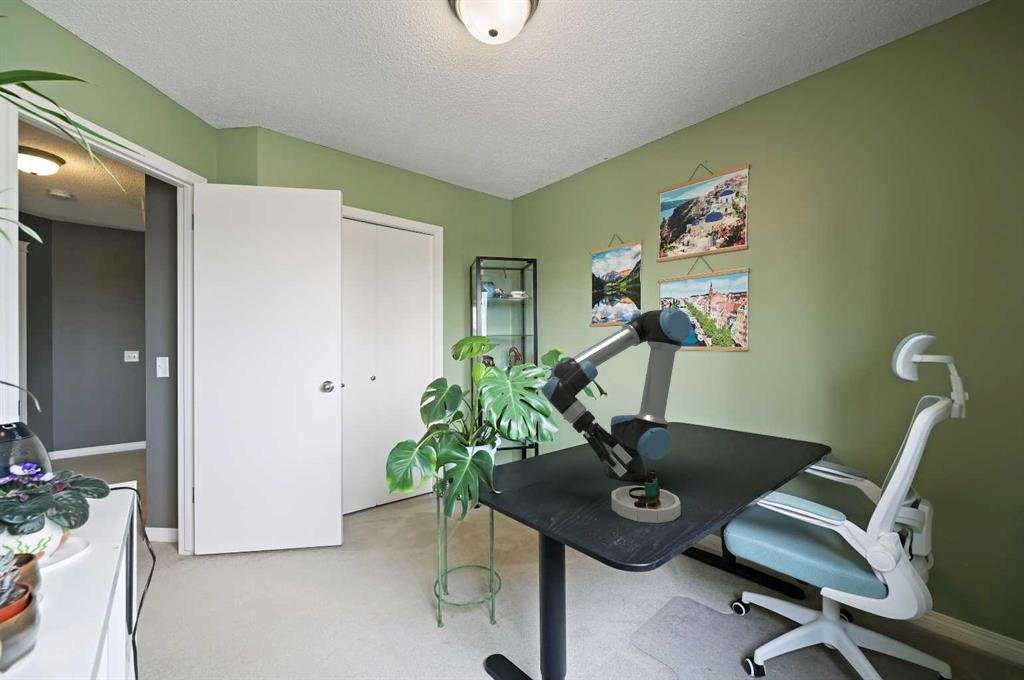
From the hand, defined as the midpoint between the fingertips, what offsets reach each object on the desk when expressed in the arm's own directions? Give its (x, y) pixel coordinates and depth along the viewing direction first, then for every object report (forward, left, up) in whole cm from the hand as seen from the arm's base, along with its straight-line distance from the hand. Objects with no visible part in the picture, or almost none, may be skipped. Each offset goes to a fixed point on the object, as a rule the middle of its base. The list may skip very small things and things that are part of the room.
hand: (626, 467), depth 133 cm
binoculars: (+5, +2, -12) cm, 13 cm away
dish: (+5, +2, -12) cm, 14 cm away
